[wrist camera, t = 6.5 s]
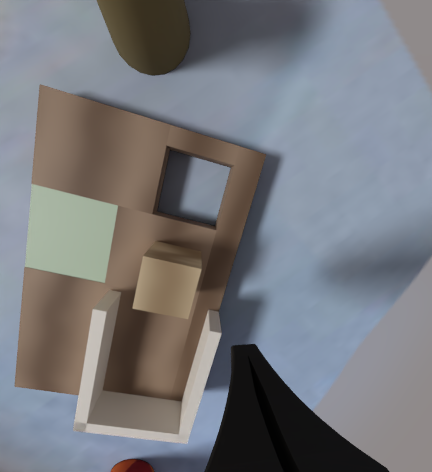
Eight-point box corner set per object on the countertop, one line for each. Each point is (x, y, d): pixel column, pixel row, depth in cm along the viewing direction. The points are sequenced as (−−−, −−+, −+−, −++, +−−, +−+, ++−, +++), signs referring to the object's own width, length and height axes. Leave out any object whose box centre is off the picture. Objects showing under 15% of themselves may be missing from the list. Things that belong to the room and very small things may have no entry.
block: (201, 251, 18) (201, 269, 14) (190, 292, 19) (188, 319, 15) (155, 240, 18) (143, 255, 14) (146, 283, 19) (132, 308, 15)
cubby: (218, 311, 20) (221, 333, 17) (188, 410, 22) (186, 443, 19) (109, 289, 19) (92, 309, 16) (90, 396, 21) (73, 430, 18)
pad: (126, 203, 19) (118, 205, 17) (113, 274, 20) (105, 283, 18) (49, 184, 18) (31, 183, 16) (42, 259, 19) (25, 266, 18)
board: (259, 157, 19) (266, 154, 17) (189, 392, 24) (188, 410, 22) (58, 96, 17) (39, 84, 15) (30, 368, 22) (14, 386, 20)
